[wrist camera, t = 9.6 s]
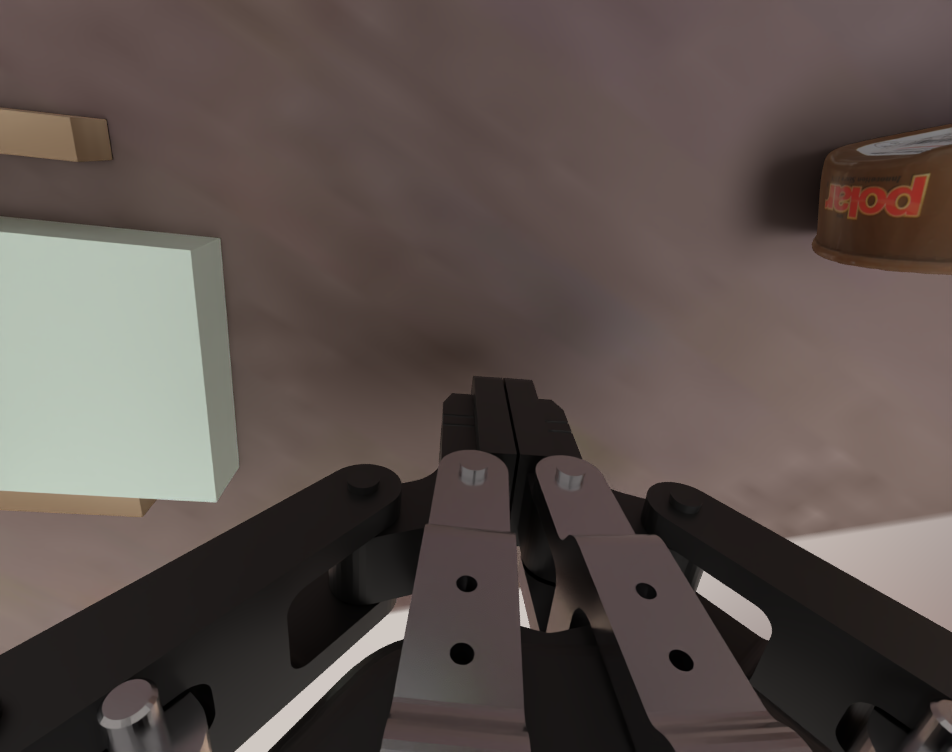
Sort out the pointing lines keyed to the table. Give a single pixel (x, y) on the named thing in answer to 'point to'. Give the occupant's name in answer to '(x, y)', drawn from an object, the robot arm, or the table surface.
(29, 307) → the panel
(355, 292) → the table surface
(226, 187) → the table surface
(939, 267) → the tin
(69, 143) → the beige forked block
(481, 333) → the table surface
